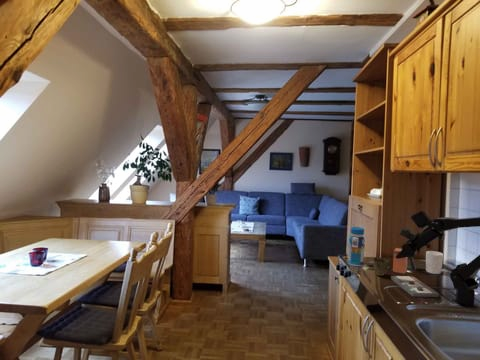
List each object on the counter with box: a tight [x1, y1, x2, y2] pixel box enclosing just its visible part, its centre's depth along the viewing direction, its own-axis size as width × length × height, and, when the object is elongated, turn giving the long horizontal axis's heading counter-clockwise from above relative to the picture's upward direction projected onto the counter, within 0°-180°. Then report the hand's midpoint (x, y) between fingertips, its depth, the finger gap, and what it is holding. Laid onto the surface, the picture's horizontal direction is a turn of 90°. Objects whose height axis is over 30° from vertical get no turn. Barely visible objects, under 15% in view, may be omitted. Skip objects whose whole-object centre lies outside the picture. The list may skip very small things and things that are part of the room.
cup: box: [372, 257, 390, 277], centre depth 166 cm, size 8×7×8 cm
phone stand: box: [406, 256, 417, 273], centre depth 177 cm, size 9×6×12 cm, turn 62°
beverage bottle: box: [347, 226, 366, 267], centre depth 182 cm, size 8×8×20 cm
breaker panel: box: [390, 275, 440, 298], centre depth 151 cm, size 20×11×2 cm, turn 1°
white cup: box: [425, 250, 444, 275], centre depth 173 cm, size 8×8×10 cm
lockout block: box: [392, 247, 409, 275], centre depth 155 cm, size 5×5×10 cm
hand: (397, 256), depth 156 cm, fingers closed on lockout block, 5 cm apart
